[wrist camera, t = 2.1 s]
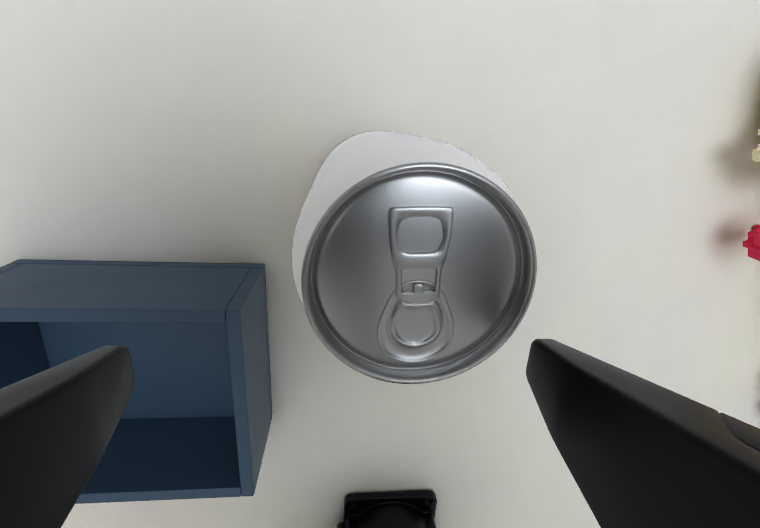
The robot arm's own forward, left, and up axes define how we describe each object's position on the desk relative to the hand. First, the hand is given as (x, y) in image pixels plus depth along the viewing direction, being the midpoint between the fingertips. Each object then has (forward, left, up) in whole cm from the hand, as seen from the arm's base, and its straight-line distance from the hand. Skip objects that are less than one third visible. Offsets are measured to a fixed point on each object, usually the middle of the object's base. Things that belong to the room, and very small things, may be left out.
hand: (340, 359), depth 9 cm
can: (-2, -1, -13) cm, 13 cm away
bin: (+10, +7, -13) cm, 18 cm away
